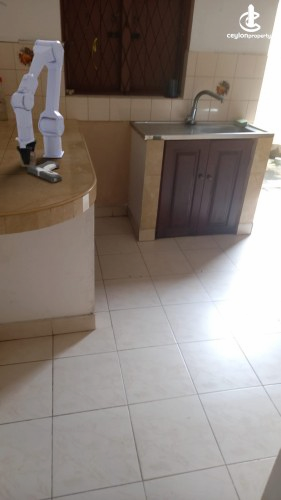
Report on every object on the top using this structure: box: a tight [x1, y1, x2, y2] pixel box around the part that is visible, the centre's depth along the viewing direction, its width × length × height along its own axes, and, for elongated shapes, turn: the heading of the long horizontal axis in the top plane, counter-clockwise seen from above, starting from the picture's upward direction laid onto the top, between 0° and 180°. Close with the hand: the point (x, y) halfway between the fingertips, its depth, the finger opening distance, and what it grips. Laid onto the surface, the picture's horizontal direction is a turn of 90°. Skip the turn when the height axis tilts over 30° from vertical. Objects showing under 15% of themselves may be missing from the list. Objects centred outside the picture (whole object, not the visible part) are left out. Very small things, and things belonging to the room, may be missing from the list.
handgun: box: [26, 160, 62, 183], centre depth 135 cm, size 2×18×12 cm
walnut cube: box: [19, 151, 37, 168], centre depth 141 cm, size 5×5×5 cm
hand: (28, 161), depth 142 cm, fingers open, 7 cm apart
